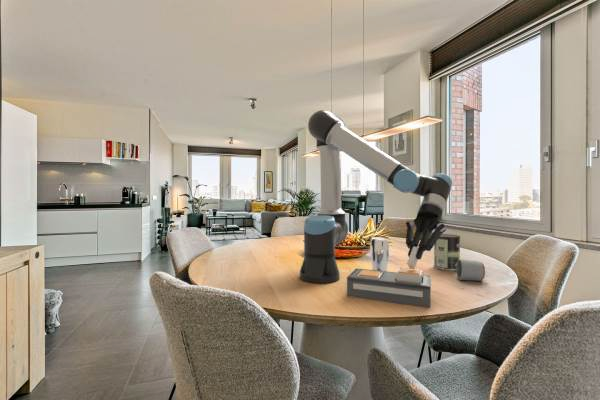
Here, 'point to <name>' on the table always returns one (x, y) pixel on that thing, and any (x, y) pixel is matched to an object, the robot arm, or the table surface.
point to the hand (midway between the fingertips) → (410, 266)
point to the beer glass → (379, 253)
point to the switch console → (389, 289)
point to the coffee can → (447, 252)
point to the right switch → (409, 275)
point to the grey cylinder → (470, 270)
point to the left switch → (370, 274)
